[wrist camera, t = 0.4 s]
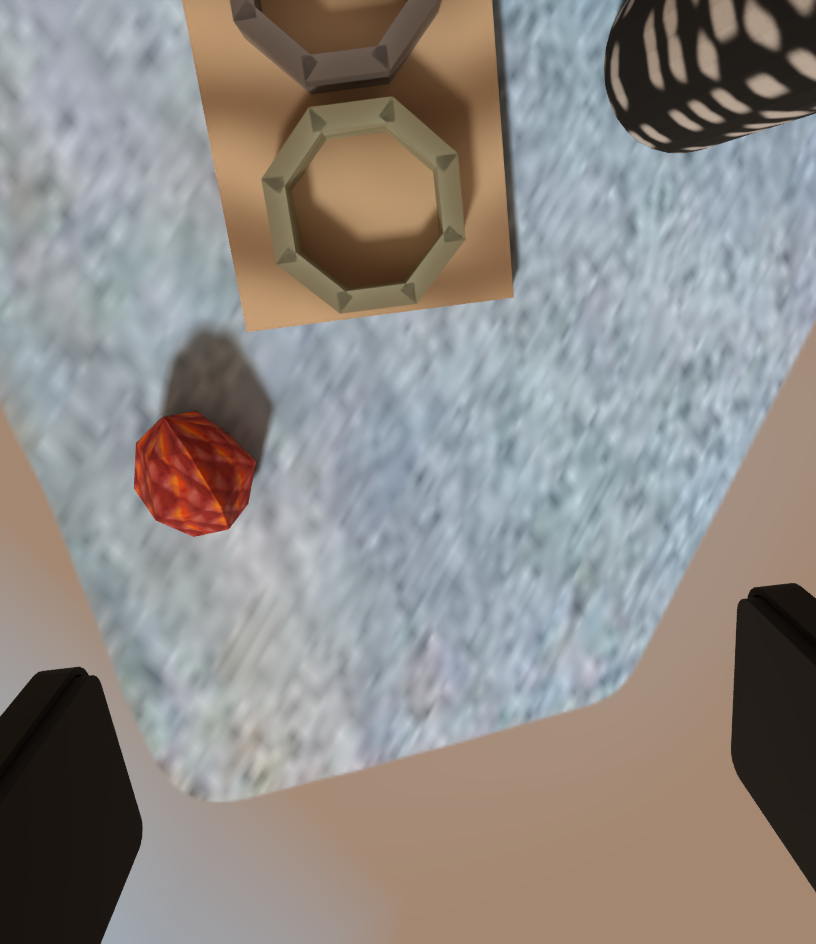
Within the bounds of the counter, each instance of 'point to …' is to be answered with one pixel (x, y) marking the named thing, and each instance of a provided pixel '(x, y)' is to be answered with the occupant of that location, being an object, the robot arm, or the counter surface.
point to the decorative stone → (192, 474)
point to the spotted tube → (710, 69)
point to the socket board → (355, 154)
